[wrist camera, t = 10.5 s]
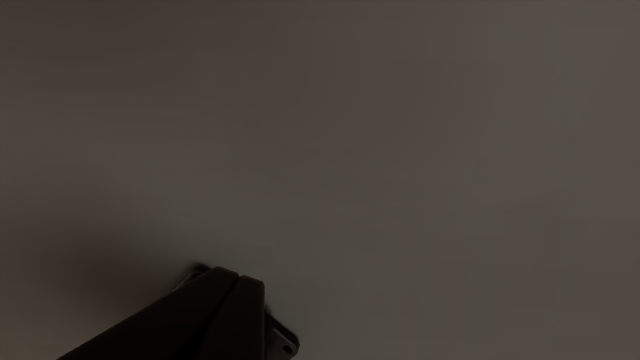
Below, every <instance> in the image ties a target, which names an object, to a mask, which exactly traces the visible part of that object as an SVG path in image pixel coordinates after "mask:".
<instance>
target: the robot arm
mask: <svg viewBox="0 0 640 360" xmlns="http://www.w3.org/2000/svg"><path fill="white" fill-rule="evenodd" d="M198 275H199V276H198ZM264 291H265V286H264V283H263V282H262V281H260V280H257V279H254V278H251V277H248V276H245V275H242V276H239V274H238V273H236V272H234V271H231V270H228V269H225V268H222V267H214V268H212V269H210V270H208V269H207V268H205V267H203V266H196V267H194V268H193V269H192V270H191V271H190V272H189V273H188V274H187V275H186V276H185V277H184V278H183V279H182V280H181V281H180V282H179V284H178V285H177V286H176V287H175V288H174V289H173V290H172V291H171V292H170V293H169V294H168V295H166V296H164V297H162V298H161V299H159V300H157V301H156V302H154V303H152V304H150V305H149V306H147V307H145V308H144V309H142V310H140V311H138V312H137V313H135V314H133V315H132V316H130V317H128V318H126V319H125V320H123V321H121V322H120V323H118V324H116V325H114V326H113V327H111V328H109V329H108V330H106V331H104V332H102V333H101V334H99V335H97V336H96V337H94V338H92V339H90V340H89V341H87V342H85V343H84V344H82V345H80V346H79V347H77V348H75V349H73V350H72V351H70V352H68V353H67V354H65V355H63V356H61V357H60V358H58V359H56V360H290V359H291V358H292V357H294V356H295V355H296V354H297V352H298V349H299V345H300V344H299V342H298V340H297V339H296V338H294V337H293V336H292V335H291V334H289V333H288V332H287V331H286V330H284V329H283V328H282V327H280V326H279V325H278V324H277V323H275V322H274V321H273V320H272V319H270V318H269V317H268V316H267V315H265V314H264ZM286 345H287V346H286ZM288 346H290V347H288Z"/></svg>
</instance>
